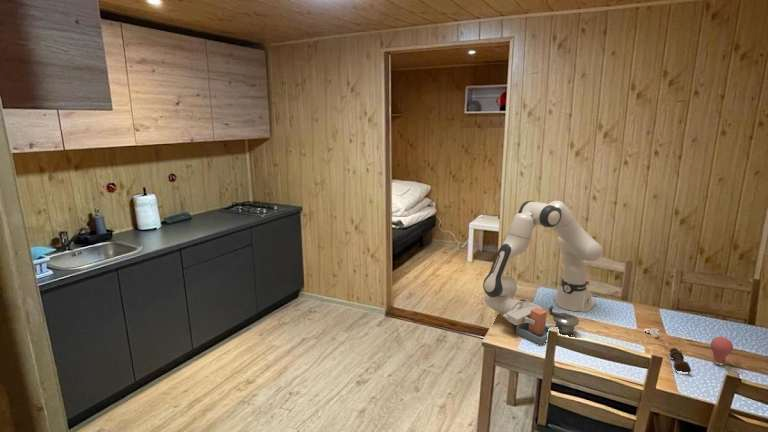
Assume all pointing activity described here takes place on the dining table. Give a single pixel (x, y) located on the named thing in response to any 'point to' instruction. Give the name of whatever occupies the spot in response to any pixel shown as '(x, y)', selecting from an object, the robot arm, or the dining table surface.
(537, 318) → the block
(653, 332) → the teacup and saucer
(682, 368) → the brown shoe
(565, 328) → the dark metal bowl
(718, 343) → the light bulb
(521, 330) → the tray
